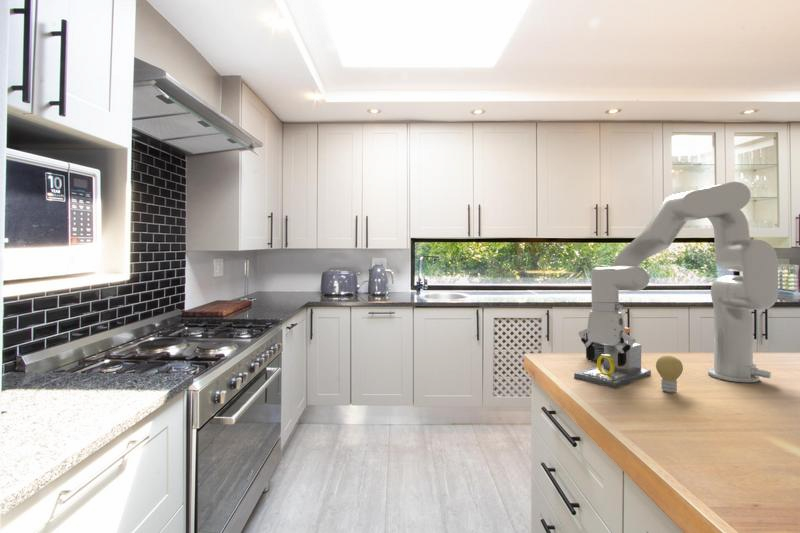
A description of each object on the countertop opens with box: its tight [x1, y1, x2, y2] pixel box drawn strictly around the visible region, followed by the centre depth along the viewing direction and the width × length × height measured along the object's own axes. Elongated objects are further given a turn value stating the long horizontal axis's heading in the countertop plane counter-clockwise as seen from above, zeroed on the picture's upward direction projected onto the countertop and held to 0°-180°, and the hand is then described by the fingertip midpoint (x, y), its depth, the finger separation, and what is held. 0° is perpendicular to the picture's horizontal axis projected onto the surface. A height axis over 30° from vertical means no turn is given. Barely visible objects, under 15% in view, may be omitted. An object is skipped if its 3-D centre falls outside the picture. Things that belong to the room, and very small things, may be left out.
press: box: [573, 341, 652, 389], centre depth 134 cm, size 13×22×10 cm, turn 126°
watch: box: [596, 354, 615, 375], centre depth 131 cm, size 6×3×6 cm, turn 17°
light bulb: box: [655, 355, 684, 394], centre depth 119 cm, size 6×6×10 cm
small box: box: [585, 334, 604, 362], centre depth 155 cm, size 11×6×10 cm, turn 84°
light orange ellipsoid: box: [624, 326, 631, 345], centre depth 137 cm, size 4×4×8 cm
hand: (605, 362), depth 131 cm, fingers open, 9 cm apart
